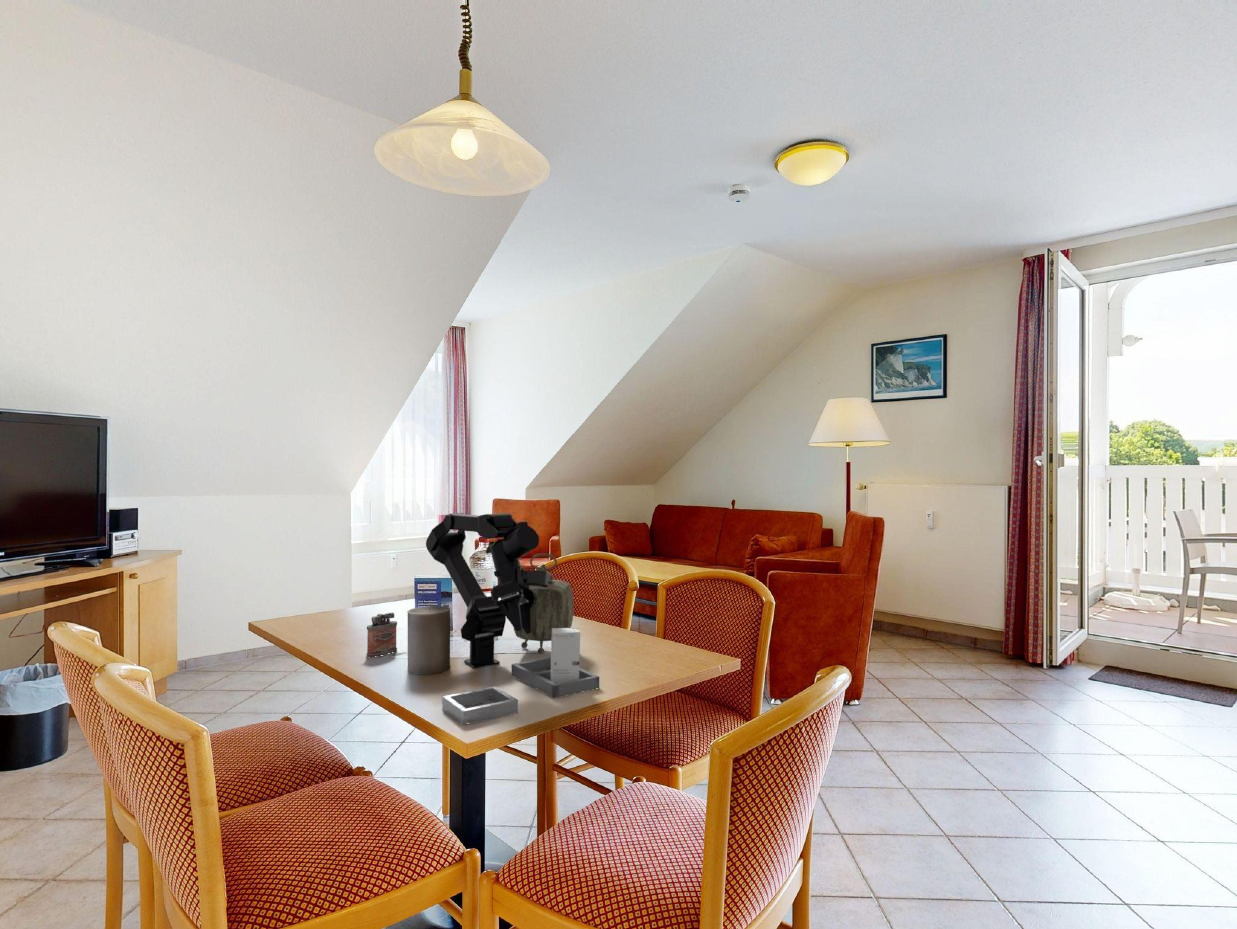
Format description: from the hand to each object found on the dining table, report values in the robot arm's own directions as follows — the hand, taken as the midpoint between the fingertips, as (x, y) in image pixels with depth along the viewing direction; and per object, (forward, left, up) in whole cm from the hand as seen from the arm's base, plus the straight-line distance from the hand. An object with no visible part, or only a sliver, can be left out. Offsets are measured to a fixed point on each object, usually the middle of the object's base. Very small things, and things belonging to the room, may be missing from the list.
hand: (524, 632), depth 151 cm
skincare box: (+10, +5, -11) cm, 15 cm away
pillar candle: (-20, -14, -11) cm, 27 cm away
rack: (+5, +5, -10) cm, 13 cm away
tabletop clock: (-18, +15, -11) cm, 25 cm away
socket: (+13, -16, -10) cm, 24 cm away
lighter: (-39, -19, -11) cm, 45 cm away
